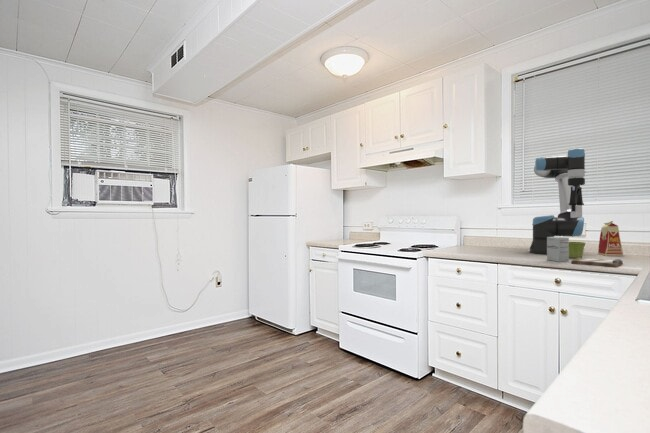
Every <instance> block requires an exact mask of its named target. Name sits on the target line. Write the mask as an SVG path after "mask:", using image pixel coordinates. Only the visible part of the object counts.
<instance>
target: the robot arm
mask: <svg viewBox="0 0 650 433" xmlns="http://www.w3.org/2000/svg"><path fill="white" fill-rule="evenodd" d="M585 156H586V151H585V149H584V148H581V147H579V148H571V149H569V150H568V151H567V155H557V156H545V157H544V156H543V157H536V158H535V161H534V164H535V165H534V168H533V172H534V174H535V175H536V176H538V177H541V178H543V179H554V181H555V182H556V183H557V184H558V199H559V210H560V211H559V213H558V214H557V217H555V215H554V214H551V215H542V216H540V215H539V216H536V217H534V218H532V224H531V225H532V240H531V241H532V242H531V244H530V246H529V253H531V254H540V255H541V254H542V255H547V237H572V238H573V237H581V236H582V234H583V232H584V226H585V218H584V217H583V206H584V205H585V203H584V201H583V191H582V186H584V185H586V183H585V182H586V178H585V176H586V175H585V173H587V170H585V169H586V168H585V164H586V161H585V160H586V157H585Z"/></svg>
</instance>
